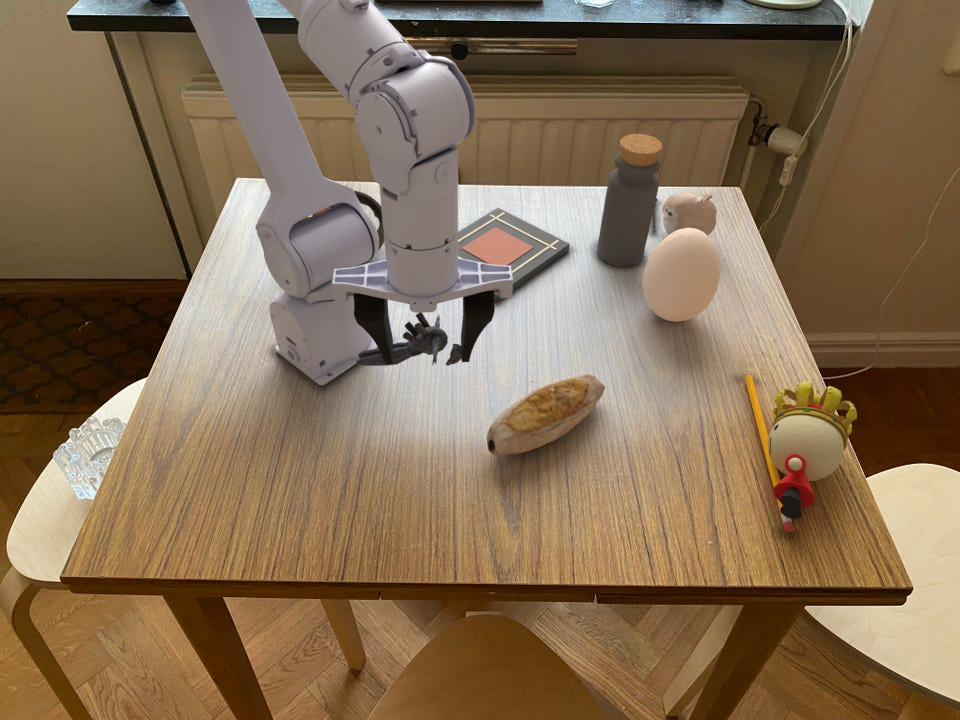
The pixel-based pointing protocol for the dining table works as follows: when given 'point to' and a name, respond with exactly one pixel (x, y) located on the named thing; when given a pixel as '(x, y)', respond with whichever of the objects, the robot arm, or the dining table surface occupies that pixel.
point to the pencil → (766, 445)
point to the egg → (681, 275)
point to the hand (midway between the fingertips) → (426, 355)
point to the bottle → (630, 200)
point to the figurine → (415, 345)
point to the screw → (654, 217)
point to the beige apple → (689, 212)
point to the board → (509, 245)
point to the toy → (807, 442)
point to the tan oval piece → (544, 415)
